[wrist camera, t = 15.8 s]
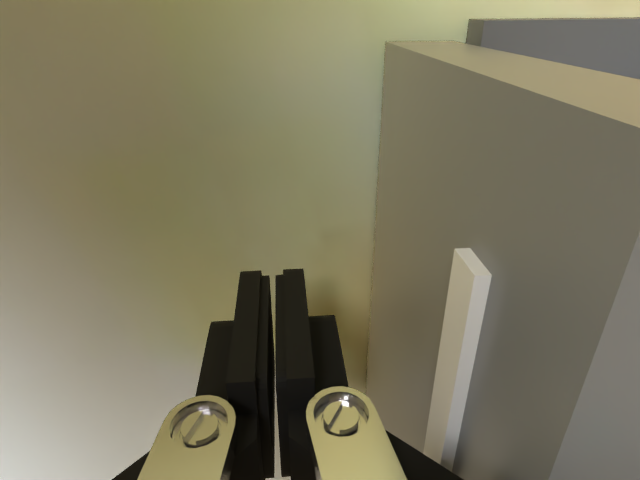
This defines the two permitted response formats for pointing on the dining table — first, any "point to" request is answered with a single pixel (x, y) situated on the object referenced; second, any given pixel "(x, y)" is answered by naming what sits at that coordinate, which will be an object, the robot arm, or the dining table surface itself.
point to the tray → (507, 264)
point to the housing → (566, 41)
